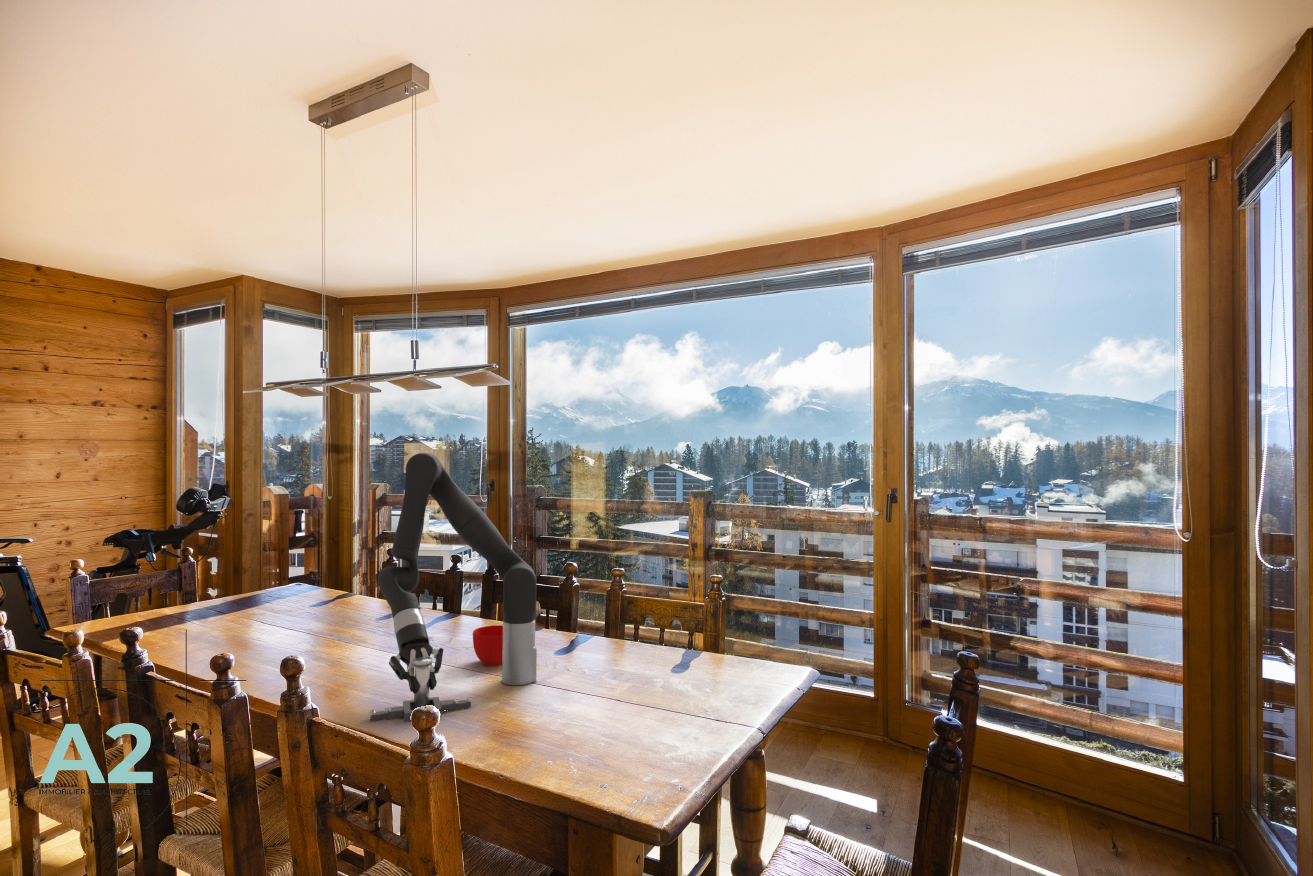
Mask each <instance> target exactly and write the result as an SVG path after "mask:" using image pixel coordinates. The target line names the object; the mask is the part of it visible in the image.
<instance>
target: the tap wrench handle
mask: <svg viewBox="0 0 1313 876" xmlns="http://www.w3.org/2000/svg"><path fill="white" fill-rule="evenodd" d="M428 705H433V706H435V707H436V708H437V709H439V711H440V713H441V714H442V713H443V712H442V711H444V710H446V711H447V710H448V711H447V712H451V711H450V710H455V711H457V710H462V709H461V708H464V709H470V708H471V707H472V697H469V696H468V697H466V699H463V700H459V699H457V698H454V699H447V700H445V699H444V700H440V697H439V696H435V697H434V696H433V697H429V704H428ZM469 707H470V708H469ZM415 708H417V706H414V699H411V700H410V699H409V700H403V701H402V705H401V706H399V705H397V706H393V707H391V706H390V707H386V708H384V710H380V711H376V710H375V709H371V710H369V721H371V722H375V721H383V720H396V719H403V722H404V723H405V722H411V721H410V716H411V713H412V711H413V710H414V709H415ZM456 709H457V710H456ZM403 715H404V716H403Z"/></svg>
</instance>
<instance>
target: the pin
mask: <svg viewBox="0 0 1313 876" xmlns="http://www.w3.org/2000/svg"><path fill="white" fill-rule="evenodd" d="M430 664H432V665H433V658H432V657H431V656H430V657H419V658H415V659H413V666H415V667H414V676H415V677H416V681H417V685H418V692H417V693H415V694H413V700H414V706H417V707H421V706H426V705H428V704H429V698H430V687H429V684H430Z"/></svg>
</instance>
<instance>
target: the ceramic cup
mask: <svg viewBox="0 0 1313 876" xmlns="http://www.w3.org/2000/svg"><path fill="white" fill-rule="evenodd" d="M472 645H473V650H474V652H475V655H476V657H477V659H478V660H479V661H480V662H481V663H482V664H483V665H484V666H488V665H495V666H499V664H500V665H502V649H503V624H502V625H500V624H499V625H485V626H482V627H478V628H475V629H474V630H473V631H472Z"/></svg>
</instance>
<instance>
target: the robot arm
mask: <svg viewBox="0 0 1313 876" xmlns="http://www.w3.org/2000/svg"><path fill="white" fill-rule="evenodd" d="M404 475H405V476H404V477H405V478H404V479H405V480H404V494H403V500H402V506H401V510H400V515H399V517H398V522H397V526H396V530H395V535H394V539H393V543H392V547H391V555H392V556H393V557H394V558H396V559H400V560H403V562H404V566H394V565H393V566H386V567H383V568H382V569H381V570H380V572H379V574H378V577H377V583H378V588H379V591H380V593H381V595H382V596H383V598H384V599H385V600H386V602H387V605H389V607H390V610H391V611H390V612H391V614H392V620H393V628H394V631H393V632H394V635H395V638H396V642H397V647H398V651H399V653H398V654H397V655H391V656H390V659H389V662H388V665H389V666H390V668H391V670H393V672H394V673H395V675H396V676H397V678H398V679H399V680H400V681H403V680H406V681H407V682H408V686H409V691H410V692H411V693H413V695H414V694H415V693H417V692H418V685H417V681H416V677H415V666H413V659H415V658H419V657H431V655H433V658H434V659H435V662H434V665H433V663H432V664H430V684H429V691H434V689H435V688H436V686H437V683H438V682H437V678H436V674H438V673H439V672H440V669H441V668H442V664H443V663H442V662H443V656H444V648H443V647H439V649H438V648H433V646H432V645H431V644H430V639H429V635H428V632H427V631H428V630H427V628H426V627H427V626H426V623H425V619H424V616H423V615H422V612H421V609H420V604H419V600H418V597H417V595H416V594H414V593H412V592H413V591H415V589H417V586H418V585H419V581H420V574H419V573H420V572H419V571H420V570H419V551H420V546H421V542H422V537H423V534H424V533H423V532H424V524H425V515H426V510H427V509H426V508H427V503H428V499H429V496H431V497H432V498H433V499H434V501H436V503H437V504H438V506H439V507H440V509H441V511H442V513H443V514H444V516H445V518H446V520H447V521H448V523H449V524H450V526H451V527H452V528H453V530H454V531H455V532H456V533H457V534H458V535H459V537H460V538H461V539H462V540H463V541H464V542H465V543H466V545H468V546H469V547H470V548H471V549H472V550H473V551H475V552H476V553H477V554H478V555H479V556H481V557H482V558H483V559H485V560H486V561H487V562H488V563H489V564H490V565H491V566H492V568H493V569H494V570H495V571H496V572H495V573H497V574H498V576H499V577H500V579H501V580H502V582H503V583H502V584H503V586H502V587H503V588H502V592H503V593H502V626H503V649H502V664H501V665H502V667H501V671H502V672H501V683H503V684H504V685H508V686H524V685H528V684H531V683H533V682H534V683H535V682H537V664H538V662H537V661H538V659H537V658H538V657H537V654H538V651H537V650H538V648H537V647H536V613H537V577H536V576H537V575H536V573H535V571H534V568H532V566H531V565H529V564H528V563H527V562H526V561H525V560H523V558H521V557H520V556H519V554H517V553H516V552H515V551H514V550H513V549H512V548H511V547H510V546H509V544H508V543H507V542H506V540H505V539H504V537H503V536H502V534H501V533H500V531H499V529H498V528H497V527H496V526H495V524H494V523H493V522H492V521H491V519H490V518H489V517H488V516H487V515H486V514H485V512H484V511H483V510H482V509H481V508H480V507H479V505H477V504H476V502H475V501H474V500H473V499H472V498H470V497H469V496H468V495H467V494H466V493H465V492H464V491H463V489H461V488H460V487H459V486H458V485H457V484H456V483H455V481H454V480H453V478H452V477H451V476H450V474H449V473H448V471H447V469H446V468H445V467H444V465H443V463H442V462H441V461H440V459H439V458H438V457H437V456H436V455H435V454H432V453H428V452H418V453H416V454H413V456H411V457H410V458H409V459H408V461H407V462H406V465H405V474H404ZM401 661H402V662H403V663H404V664H405V665H406V669H405V668H404V667H403V665H402V664H401Z"/></svg>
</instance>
